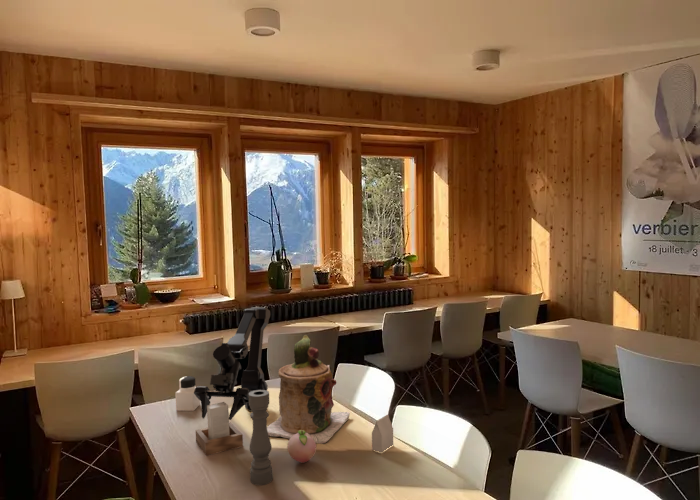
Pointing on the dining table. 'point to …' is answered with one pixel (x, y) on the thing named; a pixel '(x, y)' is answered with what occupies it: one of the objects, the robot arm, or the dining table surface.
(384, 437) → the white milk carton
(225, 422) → the skincare box
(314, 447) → the decorative fruit
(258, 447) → the candle holder
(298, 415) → the cookie jar
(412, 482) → the dining table surface
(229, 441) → the walnut holder
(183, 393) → the medicine bottle
